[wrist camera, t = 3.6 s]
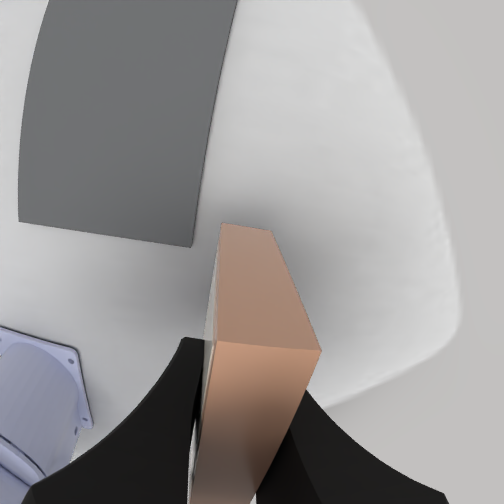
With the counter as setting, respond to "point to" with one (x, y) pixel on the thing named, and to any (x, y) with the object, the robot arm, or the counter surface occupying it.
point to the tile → (248, 367)
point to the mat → (121, 116)
